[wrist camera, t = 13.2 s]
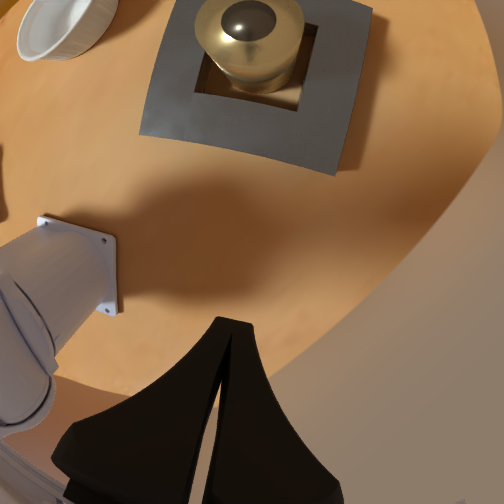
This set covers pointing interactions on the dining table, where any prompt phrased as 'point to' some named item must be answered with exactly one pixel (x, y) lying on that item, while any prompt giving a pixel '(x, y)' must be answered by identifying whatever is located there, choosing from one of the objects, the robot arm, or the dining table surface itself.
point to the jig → (256, 114)
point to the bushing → (252, 40)
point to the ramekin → (63, 28)
